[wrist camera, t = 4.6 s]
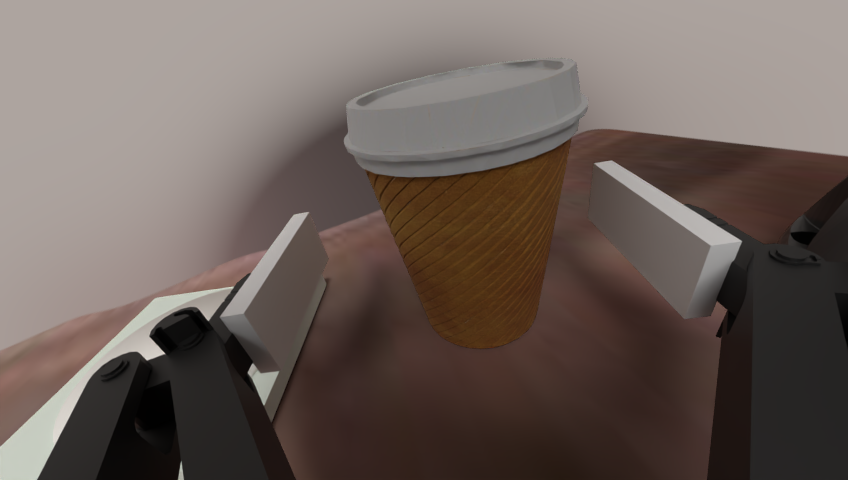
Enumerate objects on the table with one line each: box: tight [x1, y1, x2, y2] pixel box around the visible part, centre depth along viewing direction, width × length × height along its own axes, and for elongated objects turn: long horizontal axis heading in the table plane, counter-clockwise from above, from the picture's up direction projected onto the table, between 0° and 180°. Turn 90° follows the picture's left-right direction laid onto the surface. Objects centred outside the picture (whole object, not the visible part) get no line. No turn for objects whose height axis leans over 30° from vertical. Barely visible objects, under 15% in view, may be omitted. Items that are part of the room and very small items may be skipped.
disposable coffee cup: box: [344, 58, 588, 349], centre depth 15 cm, size 10×10×12 cm
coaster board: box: [0, 275, 327, 480], centre depth 18 cm, size 13×12×1 cm
